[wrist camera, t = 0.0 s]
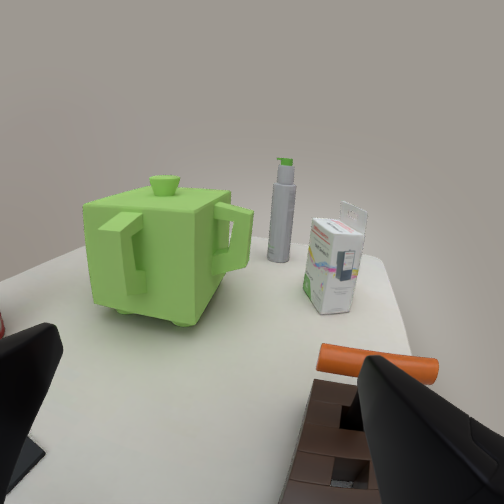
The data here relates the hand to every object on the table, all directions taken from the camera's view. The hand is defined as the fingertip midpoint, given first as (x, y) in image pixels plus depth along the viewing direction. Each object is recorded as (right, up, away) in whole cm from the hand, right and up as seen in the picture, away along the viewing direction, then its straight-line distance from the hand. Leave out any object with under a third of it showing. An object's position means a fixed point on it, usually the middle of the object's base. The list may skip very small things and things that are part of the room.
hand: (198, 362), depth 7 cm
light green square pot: (-11, -4, +33) cm, 35 cm away
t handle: (+9, -13, +12) cm, 19 cm away
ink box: (+12, -5, +36) cm, 38 cm away
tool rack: (+8, -13, +9) cm, 18 cm away
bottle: (+7, +1, +52) cm, 52 cm away
